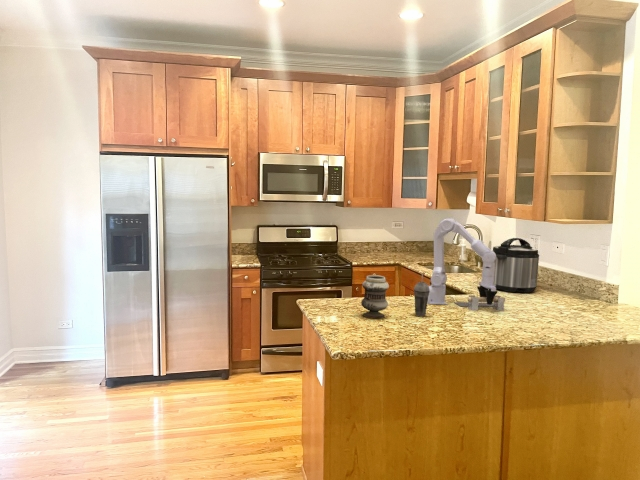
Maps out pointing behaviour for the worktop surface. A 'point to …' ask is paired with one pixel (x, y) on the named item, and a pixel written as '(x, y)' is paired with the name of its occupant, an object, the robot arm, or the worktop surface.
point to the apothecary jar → (375, 296)
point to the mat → (465, 304)
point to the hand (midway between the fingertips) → (486, 302)
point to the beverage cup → (421, 298)
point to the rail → (485, 299)
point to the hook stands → (496, 305)
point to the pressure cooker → (516, 266)
